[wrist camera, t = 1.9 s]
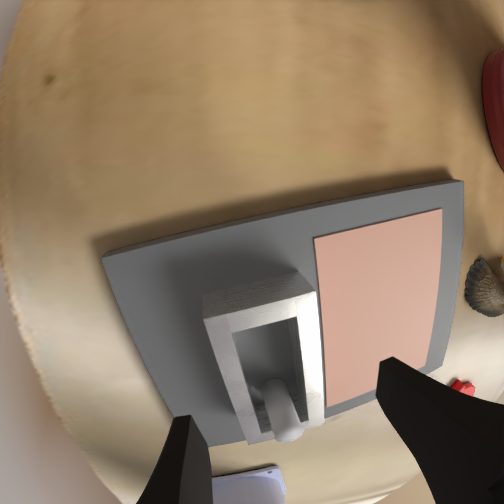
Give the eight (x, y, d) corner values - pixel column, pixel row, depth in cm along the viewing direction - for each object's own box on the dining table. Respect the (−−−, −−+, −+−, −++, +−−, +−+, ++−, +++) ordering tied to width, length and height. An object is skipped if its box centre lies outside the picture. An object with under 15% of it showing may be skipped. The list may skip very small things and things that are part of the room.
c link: (242, 417, 18) (248, 444, 16) (202, 293, 15) (203, 319, 12) (312, 398, 18) (324, 423, 16) (298, 270, 15) (315, 290, 13)
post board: (193, 439, 19) (196, 490, 15) (106, 252, 14) (70, 293, 9) (435, 359, 22) (467, 391, 17) (453, 179, 16) (509, 191, 11)
